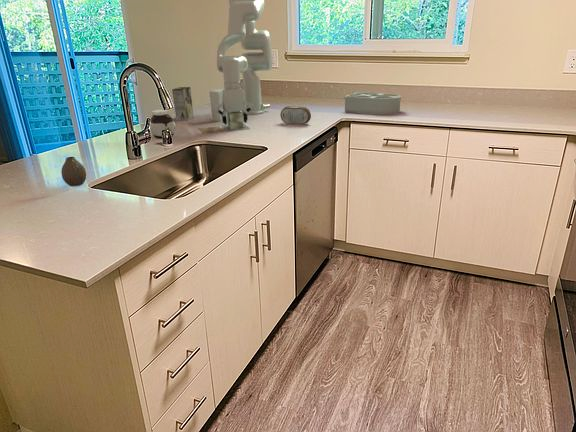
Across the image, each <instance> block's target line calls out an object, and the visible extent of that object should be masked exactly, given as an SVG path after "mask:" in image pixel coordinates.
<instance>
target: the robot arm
mask: <svg viewBox="0 0 576 432" xmlns="http://www.w3.org/2000/svg"><path fill="white" fill-rule="evenodd" d="M228 4H229V8H228V24H227V34H226V35H225V36H224V37H223V39H221V41H220V43H219V45H218V47H217V50H216V68H217V70H218V71H219V73H222V74H223V76H222V77H223V84H224V85H223V87H224V88H222V89H223V92H222V103H221V104H219V105H218V106H216V109H217V111H218V112H219V113H220V114H221V115H222V119H223V121H222V123H223V124H224V125H228V120H226V116H225V115H226V113H227V112H232V111H240V112H242V115H243V123H244V124H246V123H248V122H247V121H248V115H261V114H263V113H265V112H266V111H265V109H270V108H271V104H264V103H262V88H261V78H260V76H259V75H258V74H257V72H268V71H271V70H272V68H273V51H272V50H273V49H272V37H271V35H270V32H269V31H268V30H266V29H256V21H259V19H261V17H262V15H263V13H264V11H265V0H228ZM237 43H240V45H241V48H242V49H243V50H245V51H249V52H244V53H242V54H241V55H225V54H226V52H227V50H229V48H230V47H232V46H234V45H235V44H237ZM250 51H252V52H250ZM253 51H254V52H253ZM257 51H259V52H257ZM241 75H242V76H241ZM241 77H242V81H241ZM222 106H223V112H222V111H221V110H220V107H222Z"/></svg>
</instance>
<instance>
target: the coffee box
mask: <svg viewBox="0 0 576 432" xmlns="http://www.w3.org/2000/svg"><path fill="white" fill-rule="evenodd" d="M172 97H173V106H174V107H173V108H174V112H175V120H176V121H177V120H185V121H184V122H186V121H190V120H191V119H193V118H194V116H195V115H194V109H193V100H192V93H191V86H179V87H176V88H172Z"/></svg>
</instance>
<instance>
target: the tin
mask: <svg viewBox="0 0 576 432" xmlns="http://www.w3.org/2000/svg"><path fill="white" fill-rule="evenodd" d="M280 118H281V120H282V122H283V123H284V124H287V125H298V126H299V125H301V126H302V125H306V124H308V123H309V122H311V121H310V120H311V118H312V113H311V111H310V109H309V108H307V107H306V106H297V105H296V106H295V105H294V106H292V105H290V106H289V105H287V106H285V107H284V108H282V110H281V111H280Z"/></svg>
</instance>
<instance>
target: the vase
mask: <svg viewBox="0 0 576 432" xmlns="http://www.w3.org/2000/svg"><path fill="white" fill-rule="evenodd" d="M61 177H62V178H61V179H62V180H63V182H64V183H65V184H66V185H68V186H69V187H78V186H82V185H83V184H84V183H85V181H86V180H87V171H86V168H85V167H84V165H83V164H82V163H81V162H80V161H78V160H77V159H76V157H74V156H69V157H66V158H65V161H64V162H63V165H62V166H61Z"/></svg>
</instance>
